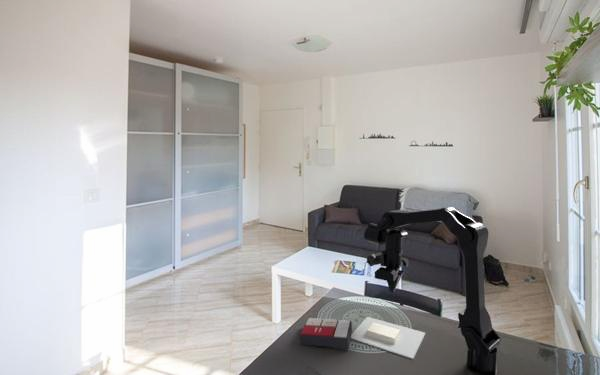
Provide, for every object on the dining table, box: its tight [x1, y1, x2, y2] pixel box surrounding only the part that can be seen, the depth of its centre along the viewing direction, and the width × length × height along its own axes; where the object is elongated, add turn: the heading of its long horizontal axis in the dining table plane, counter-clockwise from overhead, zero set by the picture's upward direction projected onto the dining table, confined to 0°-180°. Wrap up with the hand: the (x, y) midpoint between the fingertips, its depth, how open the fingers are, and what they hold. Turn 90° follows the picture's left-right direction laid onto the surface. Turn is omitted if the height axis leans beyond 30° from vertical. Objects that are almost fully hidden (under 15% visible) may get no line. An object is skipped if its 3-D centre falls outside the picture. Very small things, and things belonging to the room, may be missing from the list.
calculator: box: [299, 317, 353, 351], centre depth 103 cm, size 11×4×15 cm
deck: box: [367, 322, 400, 344], centre depth 104 cm, size 9×2×6 cm
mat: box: [351, 316, 426, 360], centre depth 104 cm, size 20×16×1 cm
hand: (391, 292), depth 109 cm, fingers closed
